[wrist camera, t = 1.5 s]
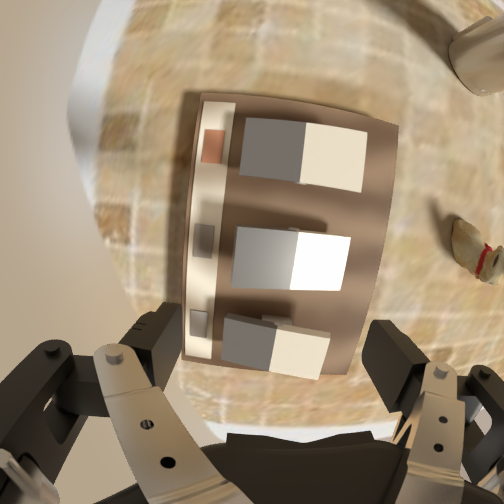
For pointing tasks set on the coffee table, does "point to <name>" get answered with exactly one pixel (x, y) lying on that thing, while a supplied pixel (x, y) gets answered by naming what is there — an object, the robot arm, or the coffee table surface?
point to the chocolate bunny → (476, 253)
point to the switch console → (279, 216)
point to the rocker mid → (287, 258)
